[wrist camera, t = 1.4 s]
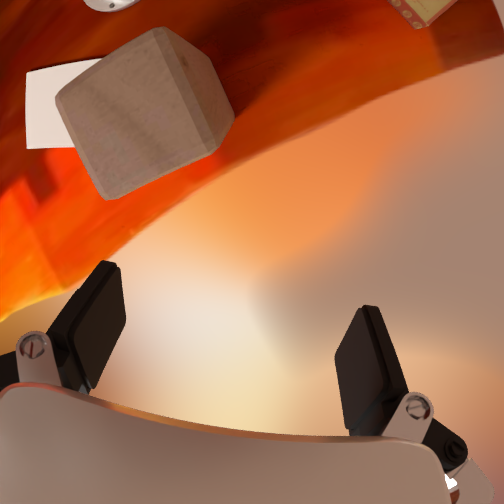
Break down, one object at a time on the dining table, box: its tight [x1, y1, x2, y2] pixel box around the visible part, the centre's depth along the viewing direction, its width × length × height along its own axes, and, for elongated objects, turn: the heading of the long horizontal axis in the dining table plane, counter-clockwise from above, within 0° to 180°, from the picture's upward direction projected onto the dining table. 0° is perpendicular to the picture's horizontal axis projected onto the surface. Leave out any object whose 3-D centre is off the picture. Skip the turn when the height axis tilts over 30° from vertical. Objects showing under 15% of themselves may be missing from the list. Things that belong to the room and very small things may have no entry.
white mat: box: [26, 59, 101, 149], centre depth 34 cm, size 13×22×1 cm, turn 83°
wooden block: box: [55, 27, 235, 200], centre depth 26 cm, size 10×10×20 cm
